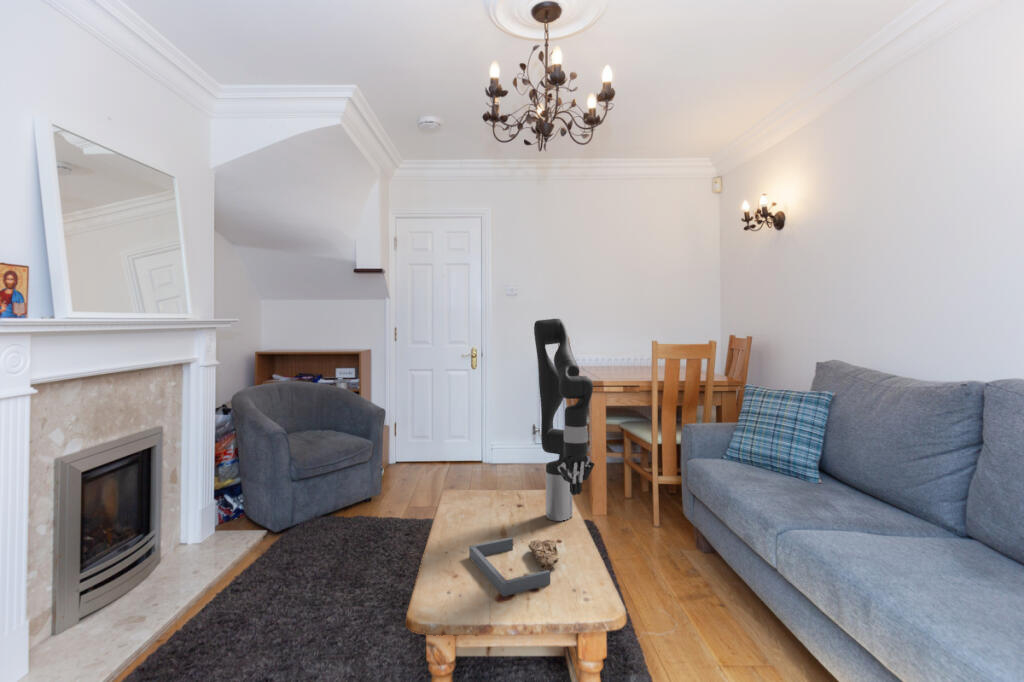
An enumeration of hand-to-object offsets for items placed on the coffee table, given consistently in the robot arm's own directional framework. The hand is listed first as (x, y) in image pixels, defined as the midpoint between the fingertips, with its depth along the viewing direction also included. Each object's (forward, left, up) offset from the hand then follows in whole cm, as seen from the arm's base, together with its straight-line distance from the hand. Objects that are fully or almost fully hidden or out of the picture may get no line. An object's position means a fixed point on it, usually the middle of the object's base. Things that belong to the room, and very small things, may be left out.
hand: (575, 494), depth 151 cm
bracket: (+24, 0, -19) cm, 31 cm away
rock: (+10, 0, -20) cm, 22 cm away
